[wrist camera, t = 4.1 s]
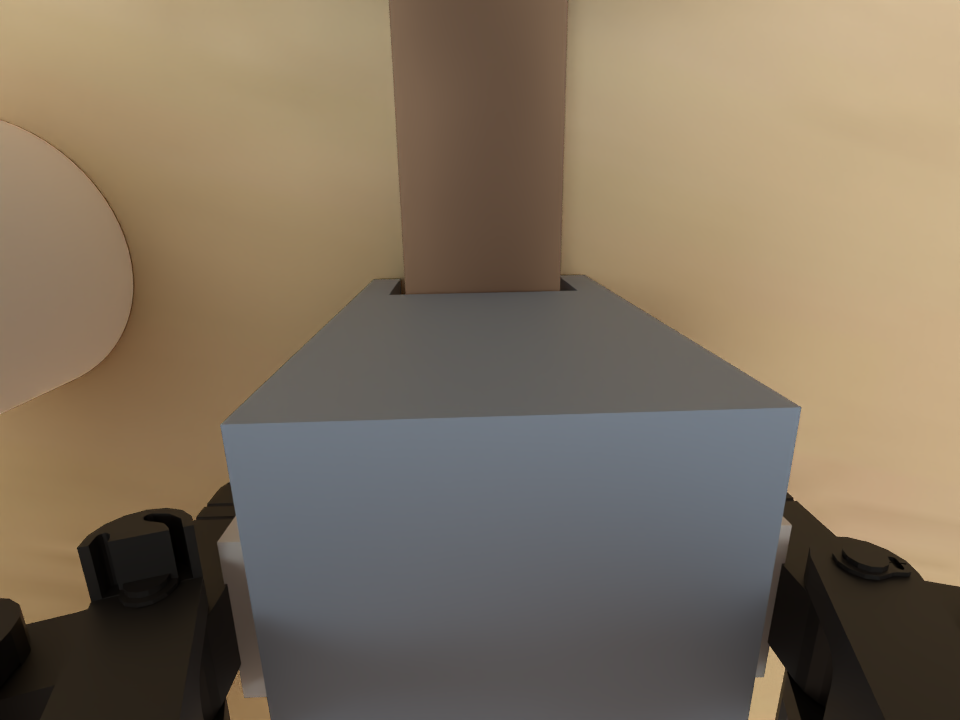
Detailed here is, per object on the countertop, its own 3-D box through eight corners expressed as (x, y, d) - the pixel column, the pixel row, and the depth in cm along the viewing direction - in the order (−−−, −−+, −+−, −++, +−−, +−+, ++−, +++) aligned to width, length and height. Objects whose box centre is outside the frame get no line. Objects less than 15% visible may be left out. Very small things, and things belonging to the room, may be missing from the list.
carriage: (389, 485, 18) (296, 865, 8) (373, 279, 16) (220, 424, 6) (575, 479, 18) (726, 842, 8) (584, 274, 16) (801, 407, 6)
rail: (418, 609, 20) (406, 736, 15) (379, -40, 14) (338, -162, 9) (549, 604, 20) (577, 728, 16) (566, -41, 14) (621, -161, 10)
